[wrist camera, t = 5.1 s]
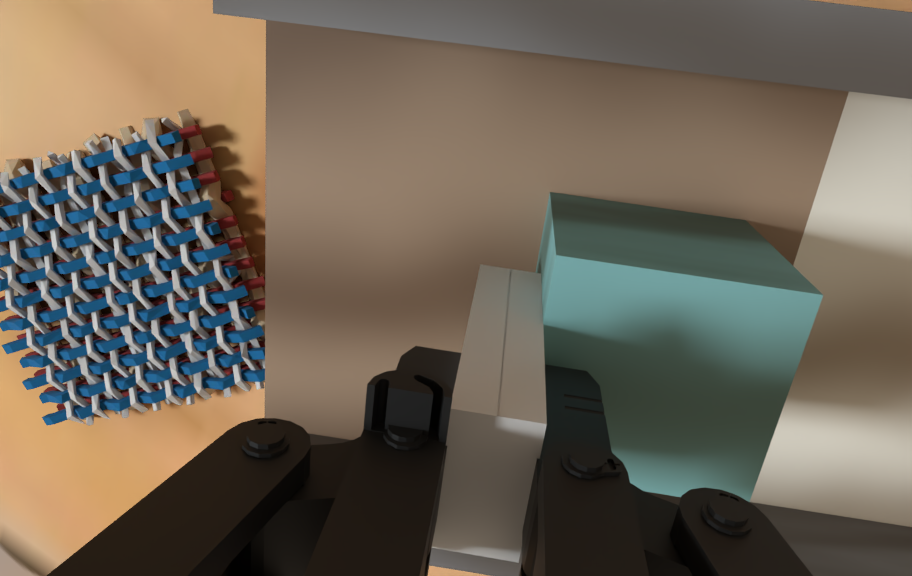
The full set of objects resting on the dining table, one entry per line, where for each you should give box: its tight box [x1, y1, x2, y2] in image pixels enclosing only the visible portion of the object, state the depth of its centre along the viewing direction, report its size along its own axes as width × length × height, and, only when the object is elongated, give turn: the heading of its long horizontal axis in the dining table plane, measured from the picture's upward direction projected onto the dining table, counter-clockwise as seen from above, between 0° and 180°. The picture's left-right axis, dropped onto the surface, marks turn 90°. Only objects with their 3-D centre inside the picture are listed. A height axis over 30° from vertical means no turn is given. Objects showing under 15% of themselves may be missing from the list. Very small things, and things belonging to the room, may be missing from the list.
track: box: [213, 0, 912, 576], centre depth 19 cm, size 15×32×8 cm, turn 84°
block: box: [535, 192, 823, 502], centre depth 16 cm, size 5×5×5 cm
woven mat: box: [0, 109, 265, 425], centre depth 25 cm, size 10×11×2 cm
